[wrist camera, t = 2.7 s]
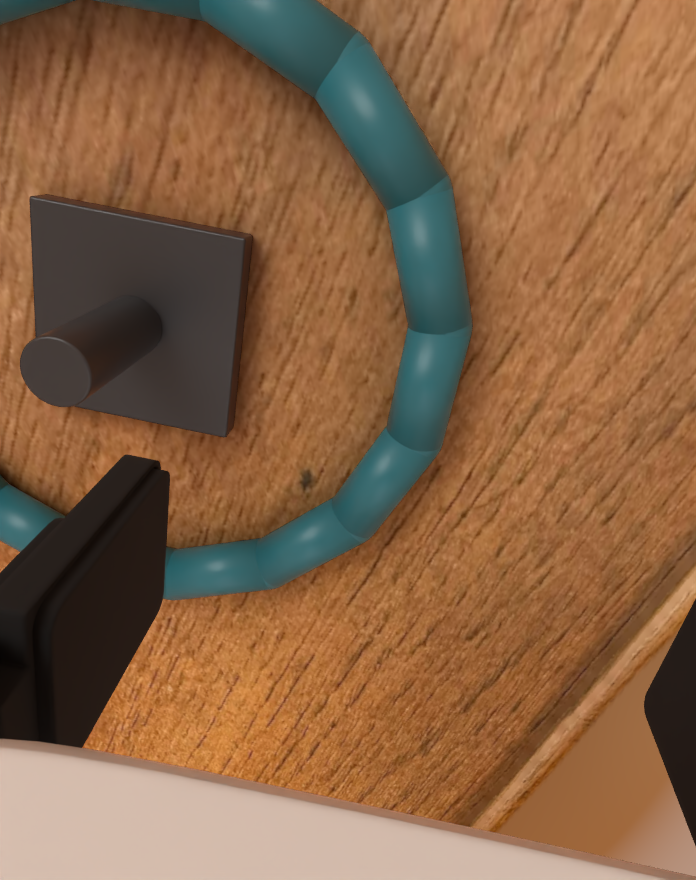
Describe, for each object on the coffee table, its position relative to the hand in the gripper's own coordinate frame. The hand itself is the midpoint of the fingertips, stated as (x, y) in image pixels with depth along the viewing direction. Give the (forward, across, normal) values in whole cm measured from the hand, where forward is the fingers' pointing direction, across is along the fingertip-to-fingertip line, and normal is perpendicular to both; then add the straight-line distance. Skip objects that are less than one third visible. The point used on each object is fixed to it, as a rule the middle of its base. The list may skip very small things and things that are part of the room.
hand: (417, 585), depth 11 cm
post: (+12, +10, 0) cm, 15 cm away
